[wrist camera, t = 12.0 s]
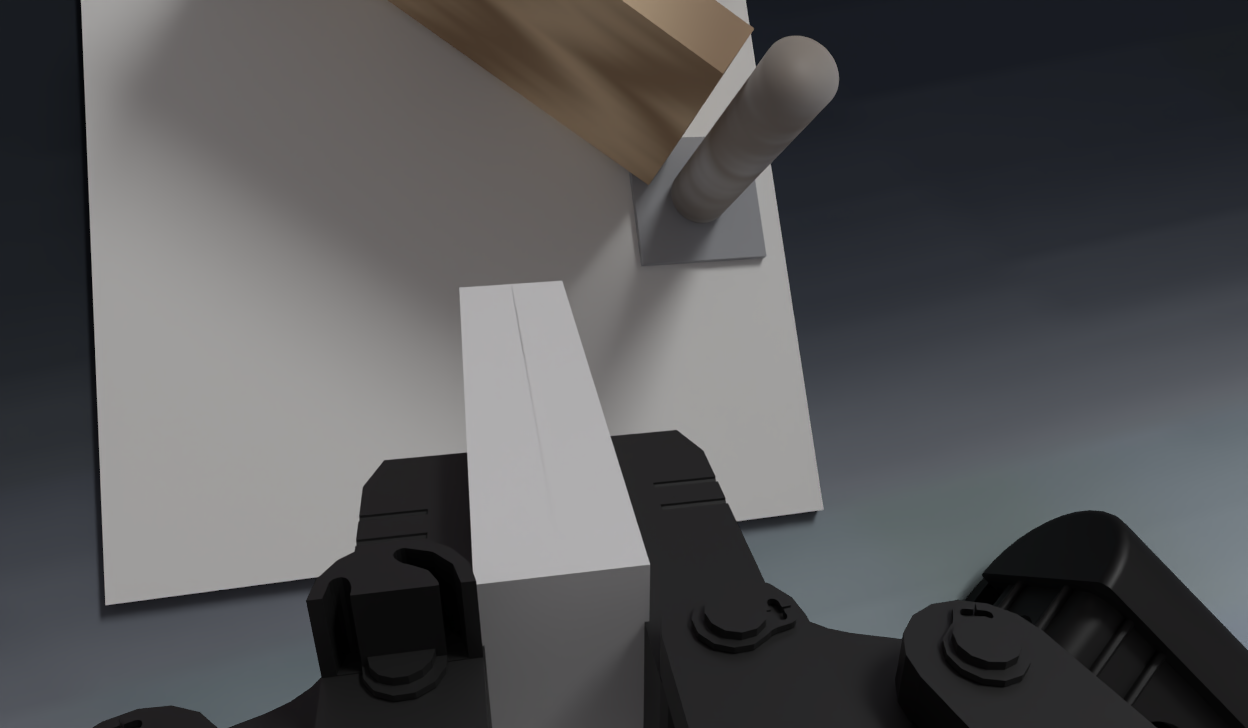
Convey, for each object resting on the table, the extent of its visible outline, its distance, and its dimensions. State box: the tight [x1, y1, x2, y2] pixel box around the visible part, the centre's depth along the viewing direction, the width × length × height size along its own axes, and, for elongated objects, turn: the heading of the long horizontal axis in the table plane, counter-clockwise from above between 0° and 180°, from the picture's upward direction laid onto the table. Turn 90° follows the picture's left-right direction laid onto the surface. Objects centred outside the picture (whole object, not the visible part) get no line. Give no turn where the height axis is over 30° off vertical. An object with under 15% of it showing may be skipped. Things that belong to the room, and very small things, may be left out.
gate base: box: [81, 0, 823, 605], centre depth 31 cm, size 22×22×1 cm
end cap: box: [965, 510, 1248, 728], centre depth 29 cm, size 10×7×7 cm
